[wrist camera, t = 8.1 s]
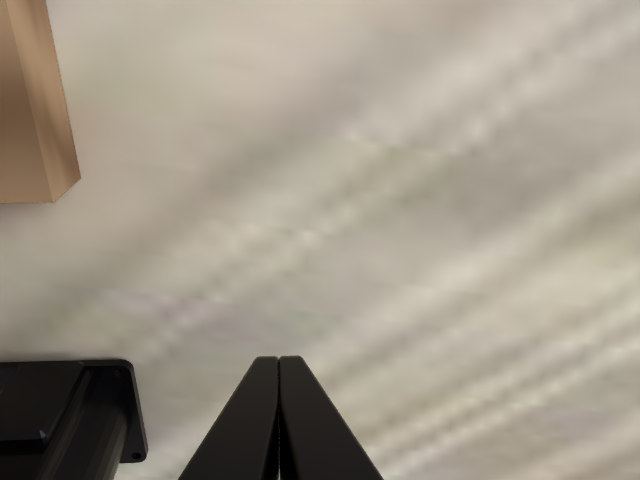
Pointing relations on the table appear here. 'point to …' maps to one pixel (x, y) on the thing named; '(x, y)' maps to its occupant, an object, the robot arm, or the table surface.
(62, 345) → the table surface
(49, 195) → the brown wooden block
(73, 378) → the robot arm
